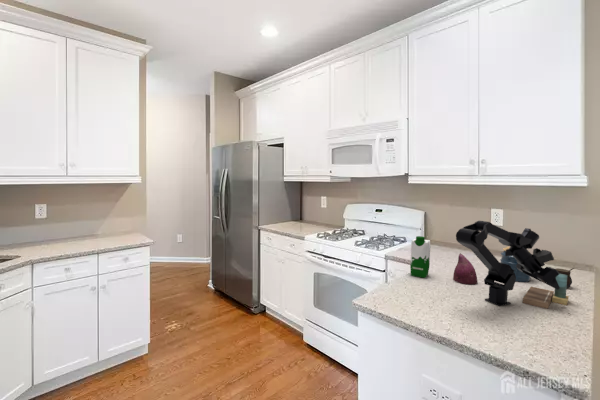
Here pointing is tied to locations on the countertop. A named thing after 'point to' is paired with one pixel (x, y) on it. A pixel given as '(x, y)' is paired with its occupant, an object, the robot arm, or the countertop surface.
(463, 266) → the vegetable
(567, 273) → the mate gourd
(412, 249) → the milk carton
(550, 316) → the countertop surface
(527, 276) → the canister
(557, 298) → the teal column with base
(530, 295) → the board
